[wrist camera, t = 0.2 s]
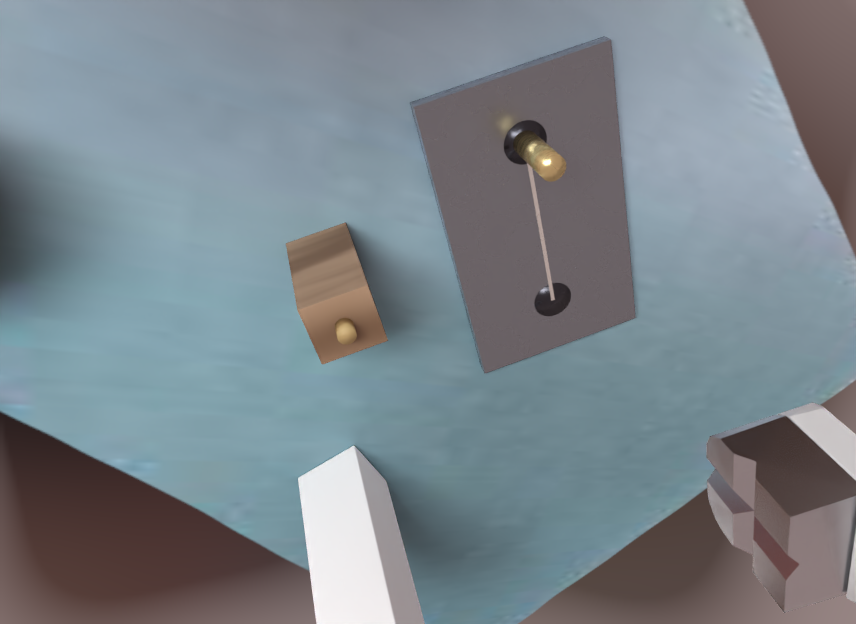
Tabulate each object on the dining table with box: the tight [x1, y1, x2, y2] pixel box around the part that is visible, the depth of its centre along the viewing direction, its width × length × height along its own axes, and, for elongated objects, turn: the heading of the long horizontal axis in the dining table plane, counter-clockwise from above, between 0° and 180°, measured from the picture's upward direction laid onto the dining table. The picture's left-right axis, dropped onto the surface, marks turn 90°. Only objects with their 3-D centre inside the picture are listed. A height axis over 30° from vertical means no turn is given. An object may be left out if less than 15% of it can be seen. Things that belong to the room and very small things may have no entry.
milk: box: [298, 446, 425, 624], centre depth 54 cm, size 6×6×22 cm
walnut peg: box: [286, 223, 388, 364], centre depth 46 cm, size 4×4×10 cm
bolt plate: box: [410, 37, 635, 373], centre depth 51 cm, size 24×14×6 cm, turn 15°
